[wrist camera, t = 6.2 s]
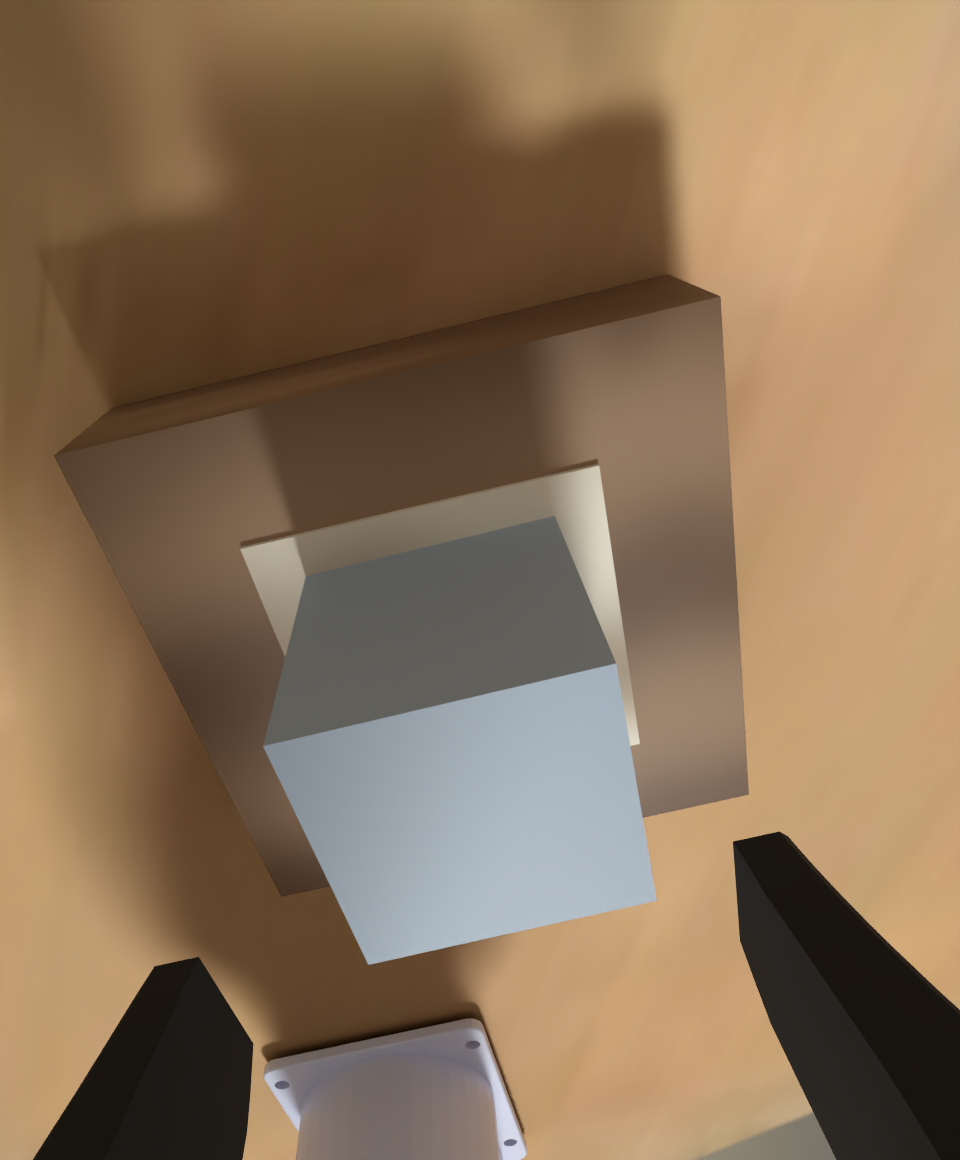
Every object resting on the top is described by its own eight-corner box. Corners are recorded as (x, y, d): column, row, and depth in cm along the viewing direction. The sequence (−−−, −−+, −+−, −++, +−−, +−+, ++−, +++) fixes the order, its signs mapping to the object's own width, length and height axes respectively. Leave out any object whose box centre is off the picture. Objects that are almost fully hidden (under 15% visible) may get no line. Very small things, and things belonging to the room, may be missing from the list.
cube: (593, 713, 17) (656, 900, 13) (378, 763, 17) (368, 964, 13) (554, 515, 15) (616, 663, 10) (305, 576, 15) (263, 746, 11)
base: (707, 718, 22) (750, 797, 19) (296, 809, 22) (281, 899, 19) (668, 274, 16) (722, 297, 13) (111, 408, 16) (51, 457, 13)
